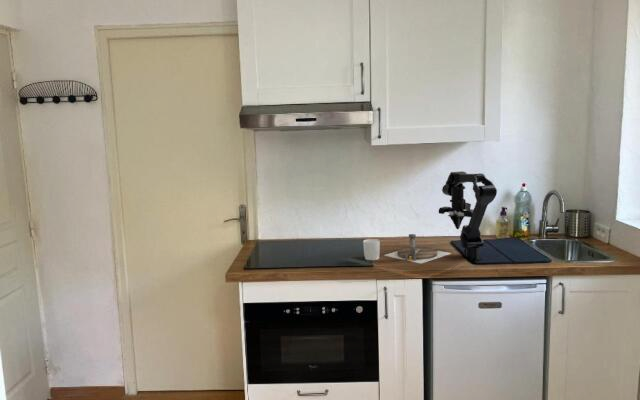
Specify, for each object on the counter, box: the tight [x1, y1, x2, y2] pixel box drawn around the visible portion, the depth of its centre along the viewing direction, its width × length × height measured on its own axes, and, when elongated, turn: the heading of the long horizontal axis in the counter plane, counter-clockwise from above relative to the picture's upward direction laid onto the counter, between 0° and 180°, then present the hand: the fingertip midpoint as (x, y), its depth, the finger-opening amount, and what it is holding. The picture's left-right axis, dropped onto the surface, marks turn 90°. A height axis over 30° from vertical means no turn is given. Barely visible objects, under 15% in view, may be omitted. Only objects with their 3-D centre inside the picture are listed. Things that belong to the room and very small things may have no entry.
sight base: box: [383, 250, 452, 265], centre depth 243 cm, size 23×23×4 cm
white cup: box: [362, 238, 381, 261], centre depth 240 cm, size 8×8×10 cm
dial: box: [397, 233, 438, 259], centre depth 243 cm, size 19×19×11 cm
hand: (457, 229), depth 246 cm, fingers closed
